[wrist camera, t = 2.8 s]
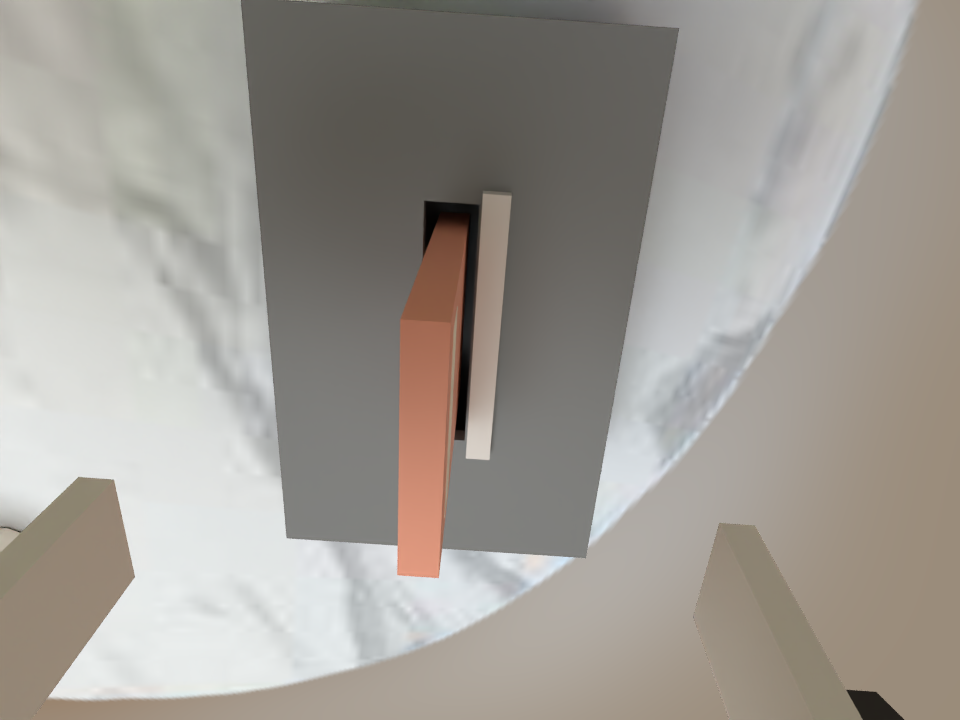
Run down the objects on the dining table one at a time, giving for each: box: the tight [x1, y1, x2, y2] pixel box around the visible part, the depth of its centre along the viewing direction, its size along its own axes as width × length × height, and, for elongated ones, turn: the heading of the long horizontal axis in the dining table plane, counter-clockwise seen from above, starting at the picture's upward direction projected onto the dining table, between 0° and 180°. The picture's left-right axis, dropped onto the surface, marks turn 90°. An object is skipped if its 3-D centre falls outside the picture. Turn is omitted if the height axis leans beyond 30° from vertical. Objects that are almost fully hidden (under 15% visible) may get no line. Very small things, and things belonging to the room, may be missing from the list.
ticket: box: [397, 212, 470, 578], centre depth 22 cm, size 8×1×12 cm, turn 176°
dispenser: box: [241, 0, 679, 558], centre depth 29 cm, size 22×14×11 cm, turn 176°
